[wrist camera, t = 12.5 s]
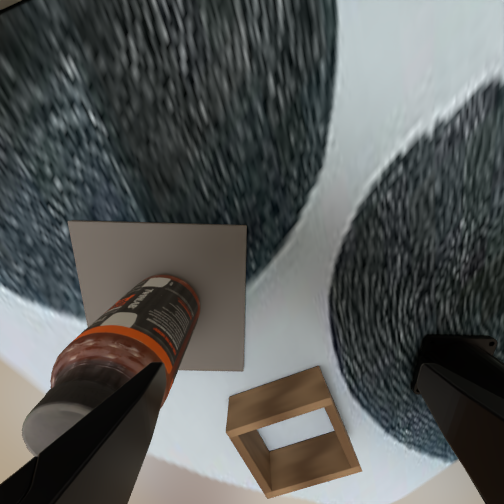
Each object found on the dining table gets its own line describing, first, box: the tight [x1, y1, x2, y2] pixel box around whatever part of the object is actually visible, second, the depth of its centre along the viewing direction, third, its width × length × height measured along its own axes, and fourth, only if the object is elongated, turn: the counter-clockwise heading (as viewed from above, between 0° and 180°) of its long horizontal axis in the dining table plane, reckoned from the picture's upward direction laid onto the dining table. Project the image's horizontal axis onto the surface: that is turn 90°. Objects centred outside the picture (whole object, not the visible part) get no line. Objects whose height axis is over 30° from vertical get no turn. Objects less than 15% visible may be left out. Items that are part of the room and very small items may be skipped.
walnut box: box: [226, 366, 362, 499], centre depth 23 cm, size 10×10×4 cm
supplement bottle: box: [22, 275, 200, 456], centre depth 15 cm, size 6×6×11 cm
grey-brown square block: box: [68, 220, 247, 371], centre depth 21 cm, size 14×14×1 cm
